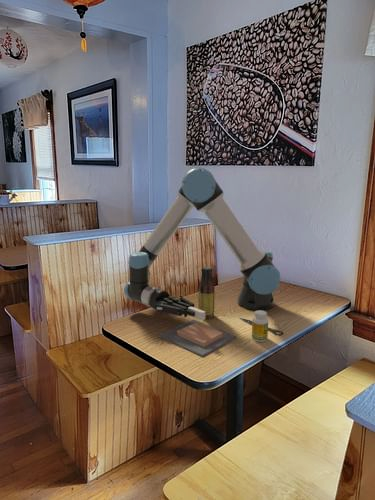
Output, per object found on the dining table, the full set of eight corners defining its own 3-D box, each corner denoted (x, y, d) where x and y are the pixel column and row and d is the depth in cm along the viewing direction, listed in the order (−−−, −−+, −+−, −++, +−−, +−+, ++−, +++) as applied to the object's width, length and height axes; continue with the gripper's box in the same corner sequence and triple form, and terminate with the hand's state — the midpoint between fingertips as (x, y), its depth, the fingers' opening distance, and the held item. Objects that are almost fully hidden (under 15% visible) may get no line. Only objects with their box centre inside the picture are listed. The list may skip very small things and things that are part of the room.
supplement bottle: (254, 333, 129) (255, 308, 127) (269, 337, 127) (271, 311, 124) (249, 340, 124) (250, 313, 122) (264, 343, 122) (266, 316, 120)
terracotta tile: (177, 331, 125) (203, 342, 117) (196, 322, 132) (223, 332, 124) (177, 335, 126) (203, 347, 118) (196, 326, 133) (222, 337, 125)
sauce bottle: (203, 311, 148) (205, 264, 144) (217, 315, 145) (218, 266, 140) (194, 316, 143) (195, 267, 138) (208, 320, 139) (209, 270, 135)
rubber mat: (158, 336, 126) (158, 334, 126) (193, 320, 139) (193, 319, 139) (202, 356, 113) (202, 355, 113) (236, 337, 126) (236, 336, 126)
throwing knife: (278, 337, 127) (279, 336, 127) (234, 319, 141) (234, 318, 141) (285, 333, 130) (285, 332, 130) (241, 316, 144) (241, 315, 144)
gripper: (168, 303, 143) (215, 320, 128) (142, 312, 134) (190, 332, 119) (168, 285, 142) (216, 300, 126) (142, 293, 132) (190, 310, 117)
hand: (203, 316), depth 122 cm, fingers closed
